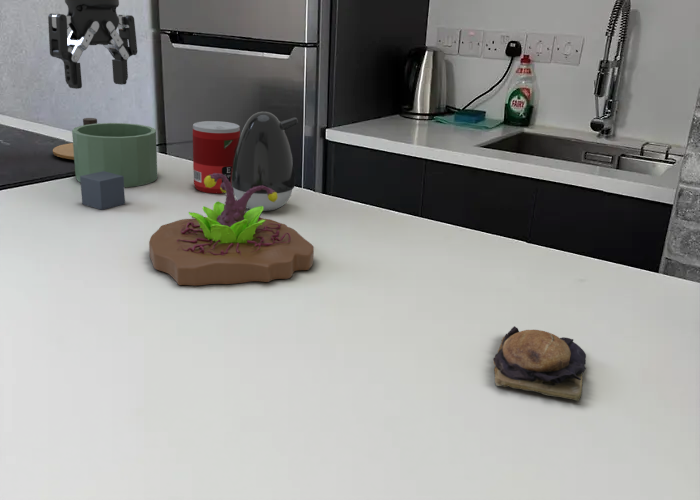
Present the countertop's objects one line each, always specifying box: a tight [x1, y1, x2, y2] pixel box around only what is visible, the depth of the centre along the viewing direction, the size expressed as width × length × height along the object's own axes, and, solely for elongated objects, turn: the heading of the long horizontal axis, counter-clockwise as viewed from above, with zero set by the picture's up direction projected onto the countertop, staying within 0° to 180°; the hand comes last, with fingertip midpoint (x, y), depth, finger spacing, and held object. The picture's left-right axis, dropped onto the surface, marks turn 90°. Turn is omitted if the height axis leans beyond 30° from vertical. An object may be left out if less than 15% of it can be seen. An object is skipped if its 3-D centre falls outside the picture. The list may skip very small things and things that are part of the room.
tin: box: [71, 122, 158, 188], centre depth 120 cm, size 14×14×8 cm
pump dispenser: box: [230, 111, 299, 212], centre depth 107 cm, size 10×10×15 cm
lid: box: [52, 117, 98, 161], centre depth 135 cm, size 14×14×7 cm
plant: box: [148, 173, 315, 287], centre depth 86 cm, size 20×20×11 cm
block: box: [79, 171, 126, 211], centre depth 105 cm, size 4×4×4 cm
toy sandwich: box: [492, 326, 587, 402], centre depth 65 cm, size 11×8×4 cm
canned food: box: [192, 120, 241, 195], centre depth 117 cm, size 8×8×11 cm
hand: (98, 86), depth 105 cm, fingers open, 8 cm apart
